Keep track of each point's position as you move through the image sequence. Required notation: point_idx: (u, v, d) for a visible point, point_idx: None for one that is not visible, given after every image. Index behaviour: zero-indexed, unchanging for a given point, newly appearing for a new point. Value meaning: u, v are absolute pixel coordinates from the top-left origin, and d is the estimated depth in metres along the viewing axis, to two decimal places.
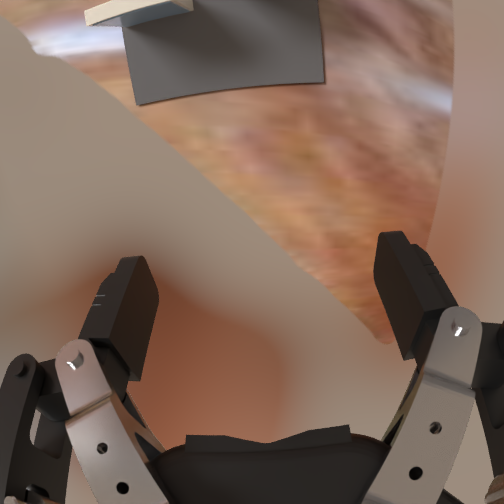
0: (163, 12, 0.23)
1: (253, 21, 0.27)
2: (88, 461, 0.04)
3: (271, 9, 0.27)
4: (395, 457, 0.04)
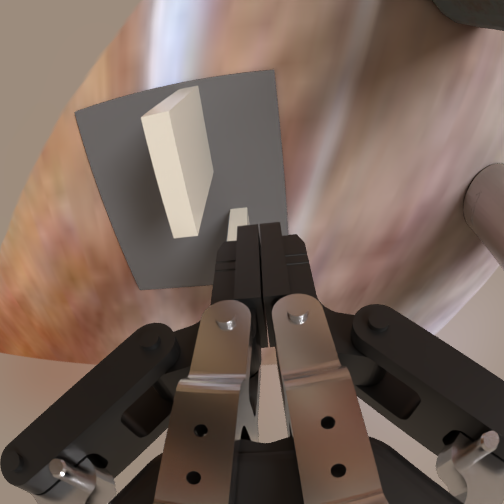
0: None
1: None
2: (177, 433, 0.05)
3: (202, 248, 0.33)
4: (307, 469, 0.04)
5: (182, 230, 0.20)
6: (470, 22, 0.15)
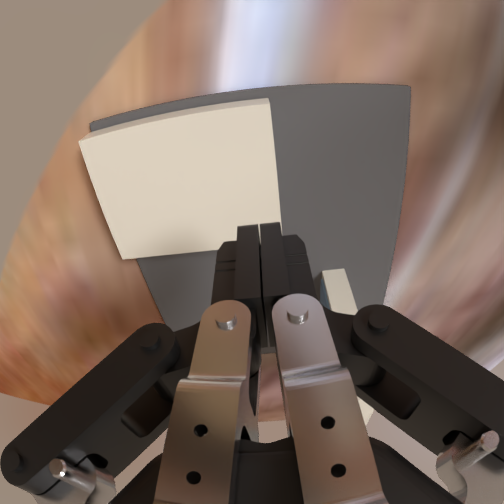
0: None
1: None
2: (177, 434, 0.05)
3: None
4: (307, 469, 0.04)
5: None
6: None
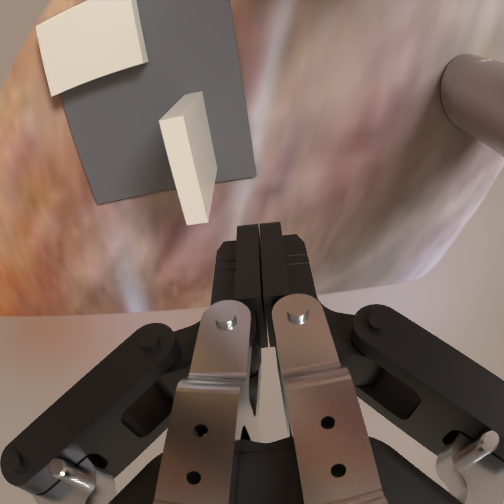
0: None
1: (141, 127, 0.28)
2: (178, 433, 0.05)
3: (158, 143, 0.29)
4: (307, 469, 0.04)
5: None
6: None
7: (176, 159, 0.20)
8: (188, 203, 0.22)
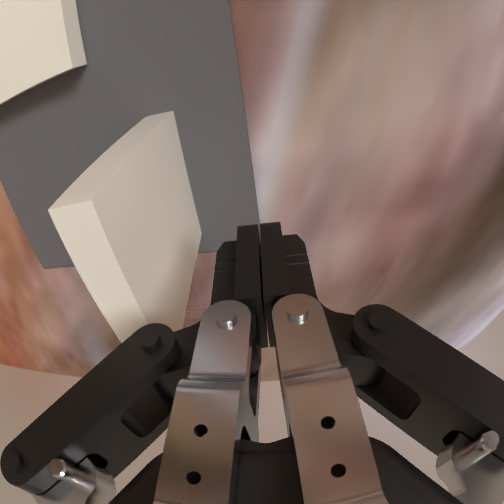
0: None
1: (84, 168, 0.17)
2: (177, 433, 0.05)
3: None
4: (307, 469, 0.04)
5: None
6: None
7: (98, 284, 0.09)
8: None
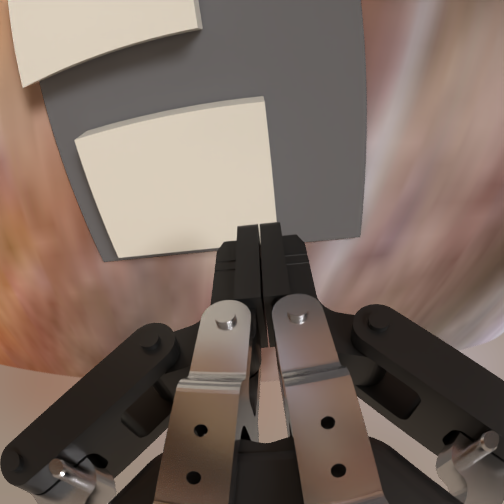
0: None
1: None
2: (177, 433, 0.05)
3: None
4: (307, 469, 0.04)
5: None
6: None
7: None
8: None
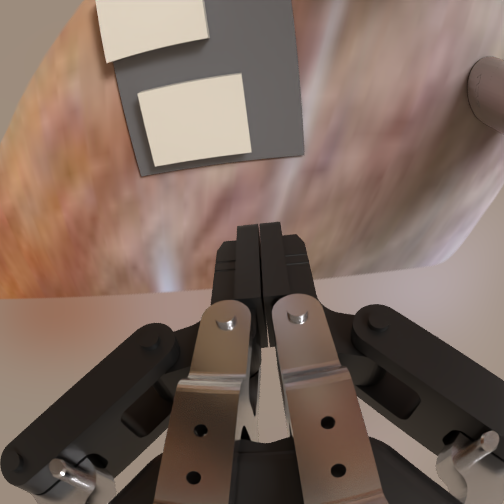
0: None
1: None
2: (177, 433, 0.05)
3: None
4: (307, 469, 0.04)
5: None
6: None
7: None
8: None
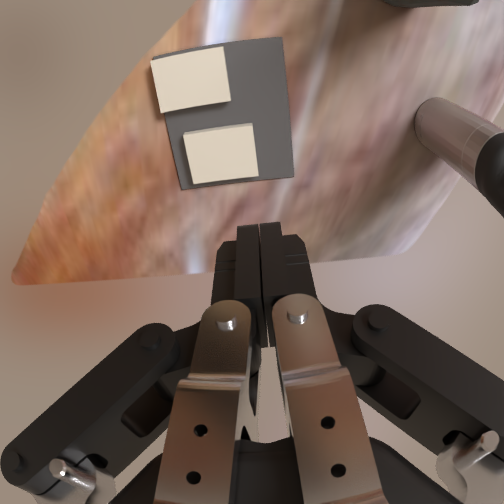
0: None
1: None
2: (177, 433, 0.05)
3: None
4: (307, 469, 0.04)
5: None
6: (400, 4, 0.29)
7: None
8: None
